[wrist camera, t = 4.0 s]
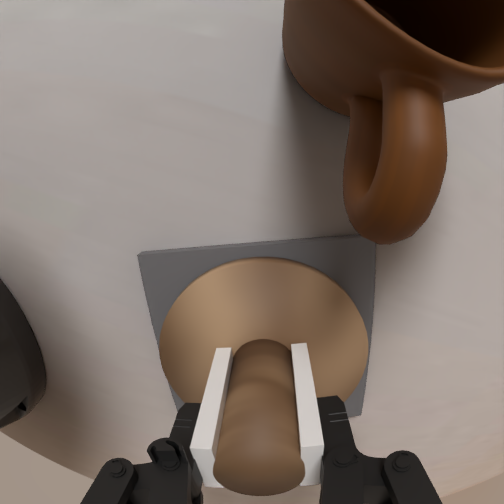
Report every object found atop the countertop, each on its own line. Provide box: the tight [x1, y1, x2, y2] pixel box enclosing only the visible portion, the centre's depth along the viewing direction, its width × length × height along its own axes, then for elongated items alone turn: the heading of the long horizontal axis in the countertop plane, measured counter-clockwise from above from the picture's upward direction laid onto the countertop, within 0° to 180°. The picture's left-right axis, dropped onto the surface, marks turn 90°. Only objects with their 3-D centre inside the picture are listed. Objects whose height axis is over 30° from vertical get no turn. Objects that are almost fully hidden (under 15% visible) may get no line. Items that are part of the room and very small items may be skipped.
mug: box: [282, 0, 504, 244], centre depth 9 cm, size 12×8×9 cm, turn 169°
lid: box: [159, 257, 368, 496], centre depth 13 cm, size 11×11×8 cm
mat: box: [137, 235, 376, 417], centre depth 17 cm, size 12×12×1 cm
